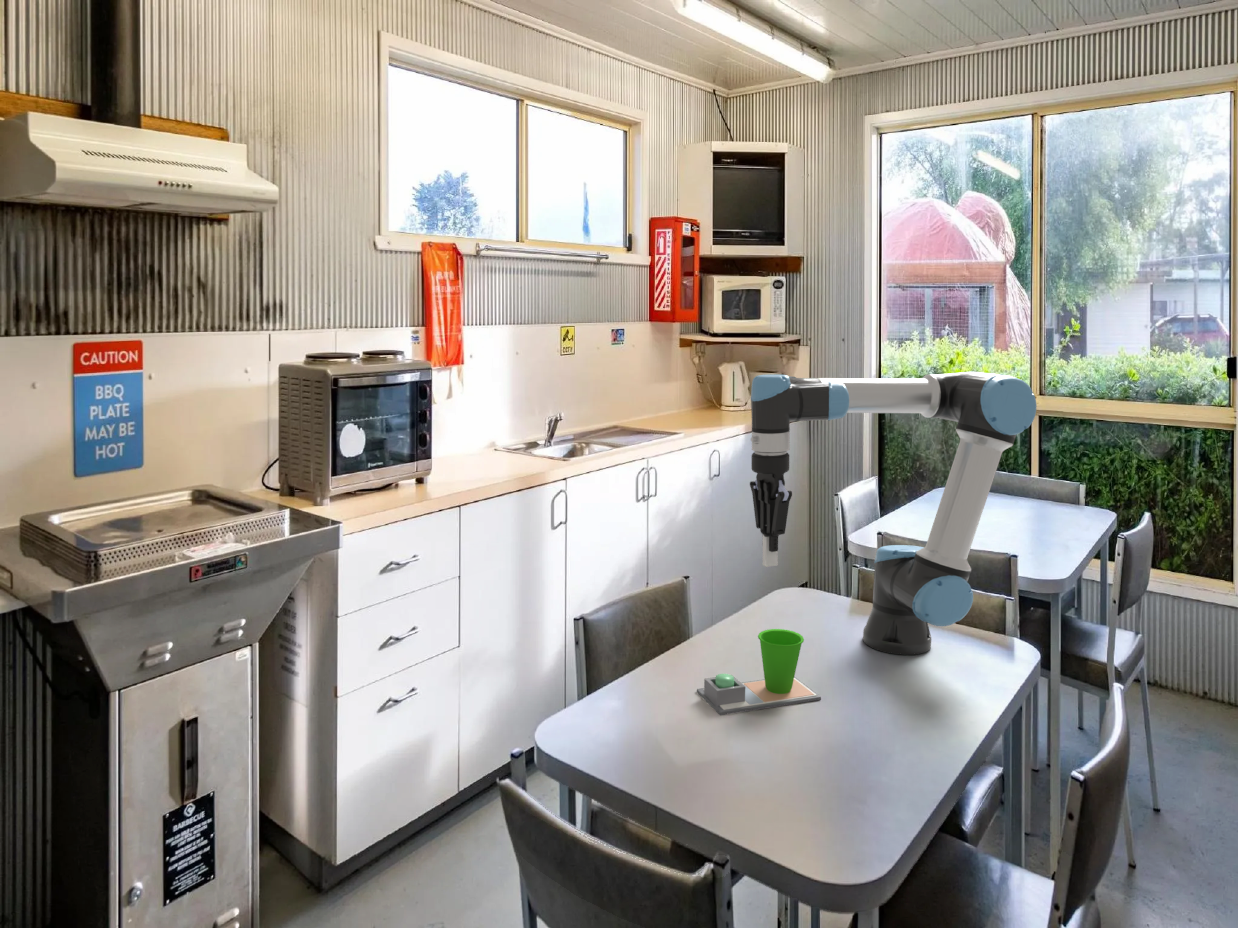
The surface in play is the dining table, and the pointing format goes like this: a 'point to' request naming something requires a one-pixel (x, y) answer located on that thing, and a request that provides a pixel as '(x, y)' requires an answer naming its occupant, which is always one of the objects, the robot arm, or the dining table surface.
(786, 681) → the cup
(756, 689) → the grey holder tray
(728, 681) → the button
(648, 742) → the dining table surface
